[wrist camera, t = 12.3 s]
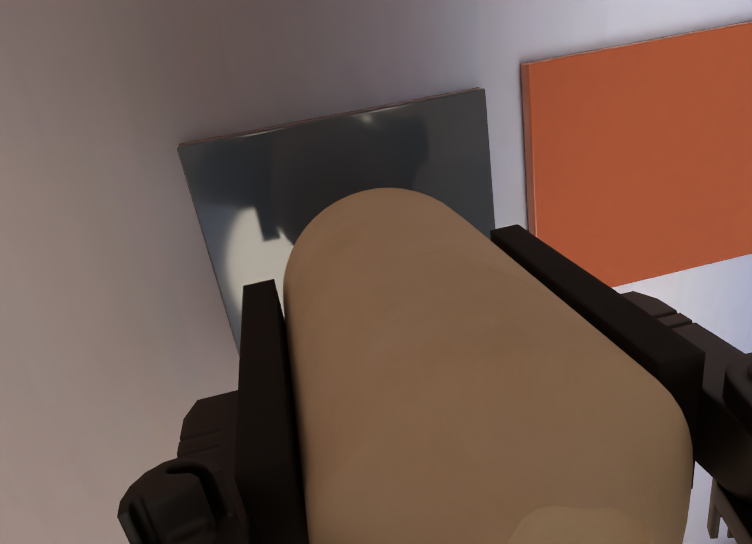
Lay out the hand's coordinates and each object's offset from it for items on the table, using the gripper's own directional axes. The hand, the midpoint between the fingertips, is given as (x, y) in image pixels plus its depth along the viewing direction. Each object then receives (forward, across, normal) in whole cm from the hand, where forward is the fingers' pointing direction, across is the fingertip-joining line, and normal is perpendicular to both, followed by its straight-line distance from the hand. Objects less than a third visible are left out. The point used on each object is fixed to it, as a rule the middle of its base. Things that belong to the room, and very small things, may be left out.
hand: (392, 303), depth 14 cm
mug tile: (+6, +12, 0) cm, 13 cm away
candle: (+1, 0, 0) cm, 1 cm away
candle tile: (+6, 0, 0) cm, 6 cm away
